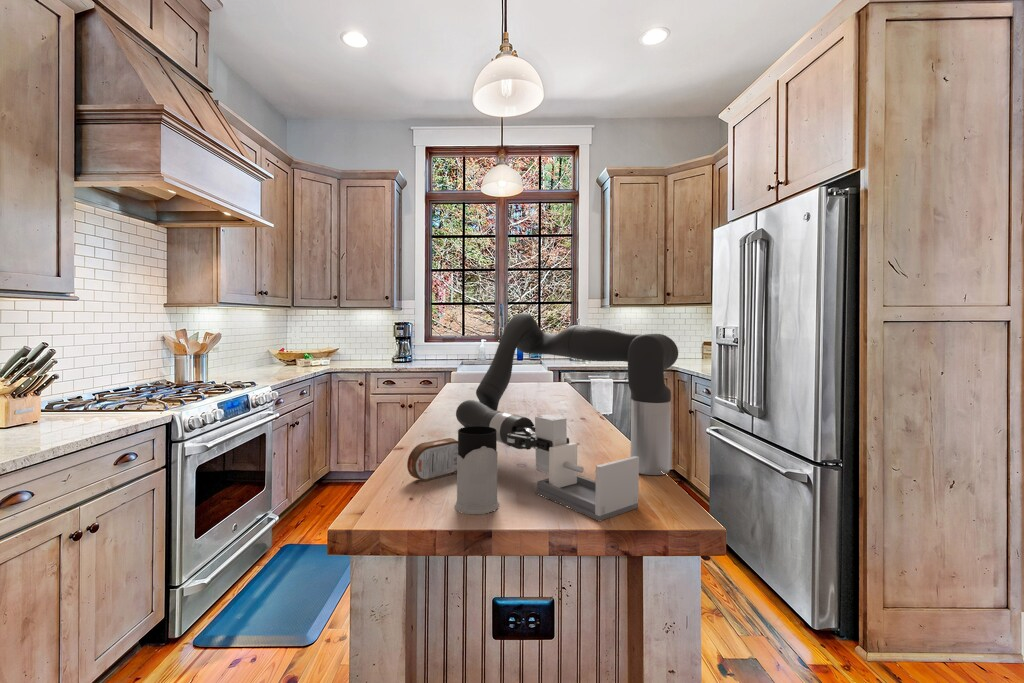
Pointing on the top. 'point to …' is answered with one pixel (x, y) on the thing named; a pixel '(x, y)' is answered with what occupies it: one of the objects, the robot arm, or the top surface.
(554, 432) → the skincare box
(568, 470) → the panel
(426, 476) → the tin
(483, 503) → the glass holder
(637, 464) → the pusher lane
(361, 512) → the top surface
